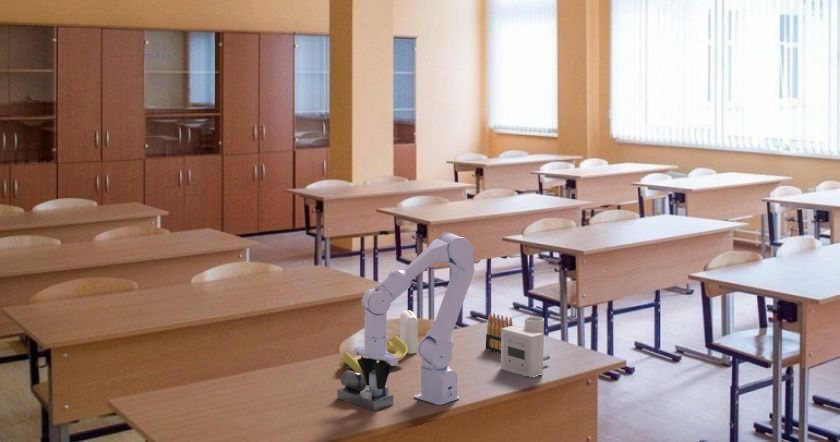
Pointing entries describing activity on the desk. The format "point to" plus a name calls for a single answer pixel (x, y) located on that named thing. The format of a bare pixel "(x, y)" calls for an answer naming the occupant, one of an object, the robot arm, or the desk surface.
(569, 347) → the desk surface
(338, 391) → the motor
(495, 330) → the ammunition clip
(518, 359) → the thermostat
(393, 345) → the plastic component
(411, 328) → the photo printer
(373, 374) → the grey capped cylinder
